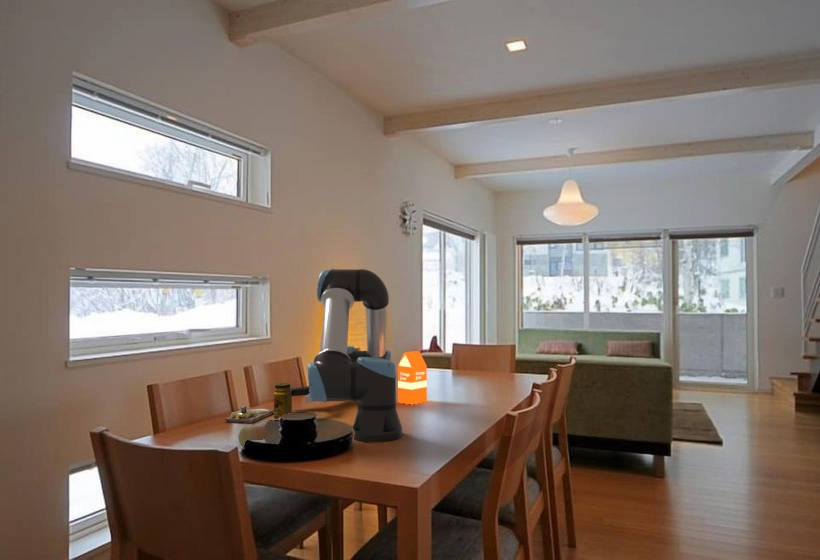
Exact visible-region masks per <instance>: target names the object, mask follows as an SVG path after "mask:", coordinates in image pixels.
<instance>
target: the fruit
mask: <svg viewBox="0 0 820 560" xmlns="http://www.w3.org/2000/svg"><path fill="white" fill-rule="evenodd" d="M250 422H251V423H250V424H246V425H243V426H242V427H241V428H240V430H239V432H238V442H239V445H240V446H241V447H242V448H243V449H245V448H244V445H245V442H246V441H247V440H263V439H266V438H268V431H267V428H266V426H265V425H263V424H261V423H260V424H259V423H258V424H257V423H256V424H253V423H252V420H250ZM266 440H267V439H266Z"/></svg>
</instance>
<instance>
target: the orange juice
mask: <svg viewBox="0 0 820 560" xmlns="http://www.w3.org/2000/svg"><path fill="white" fill-rule="evenodd" d="M427 367H428V366H427V364H426V361H425V360H424V358H423V356H422V354H421V352H420V350H416V351H406V352H404V353H403V355H402V357H401V359H400V360H399V363H398V365H397V393H398V394H397V396H398V397H397V398H398V400H397V403H398V402H399V404H403V403H405V404H404V405H408V404H411V405H410V406H414V405H413V404H415V405H419V404H418V403H420V404H424V403H427V402H428V391H427V390H428V388H427V387H428V381H427V380H428V377H427V376H428V375H427V373H428V372H427V371H428V370H427ZM423 402H424V403H423Z"/></svg>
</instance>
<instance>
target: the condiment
mask: <svg viewBox="0 0 820 560" xmlns="http://www.w3.org/2000/svg"><path fill="white" fill-rule="evenodd" d="M291 388H292V387H291V384H290V383H276V384H275V385H274V393H273V410H274V414H273V418H274V419H278V418H279V417H281V416H282V415H284V414H288V413H293V409H292V407H293V403H292V399H293V396H292V392H291Z"/></svg>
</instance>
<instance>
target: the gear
mask: <svg viewBox="0 0 820 560" xmlns="http://www.w3.org/2000/svg"><path fill="white" fill-rule="evenodd" d="M247 408H248V407H247V406H241V407H240V410H238V411H231V413H230V416H231V418H236V419H240V418H245V419H248V418H249V417H256V415H257V411H252V410H248V409H247ZM247 410H248V411H247Z"/></svg>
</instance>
